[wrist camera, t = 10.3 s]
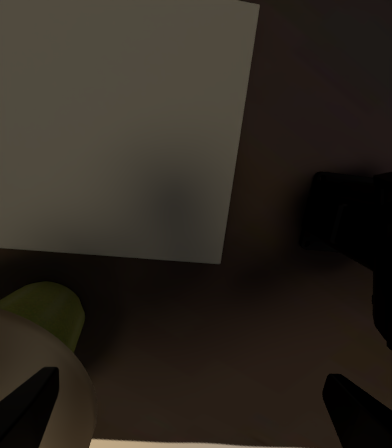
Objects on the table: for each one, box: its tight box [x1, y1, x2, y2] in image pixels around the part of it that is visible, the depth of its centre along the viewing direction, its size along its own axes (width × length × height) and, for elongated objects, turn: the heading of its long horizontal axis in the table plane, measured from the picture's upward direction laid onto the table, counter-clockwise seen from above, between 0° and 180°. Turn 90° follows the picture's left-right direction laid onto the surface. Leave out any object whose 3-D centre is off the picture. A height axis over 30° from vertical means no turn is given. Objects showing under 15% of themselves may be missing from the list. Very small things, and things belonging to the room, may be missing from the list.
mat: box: [0, 0, 260, 264], centre depth 18 cm, size 18×18×1 cm
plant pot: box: [0, 281, 85, 353], centre depth 17 cm, size 9×9×9 cm
